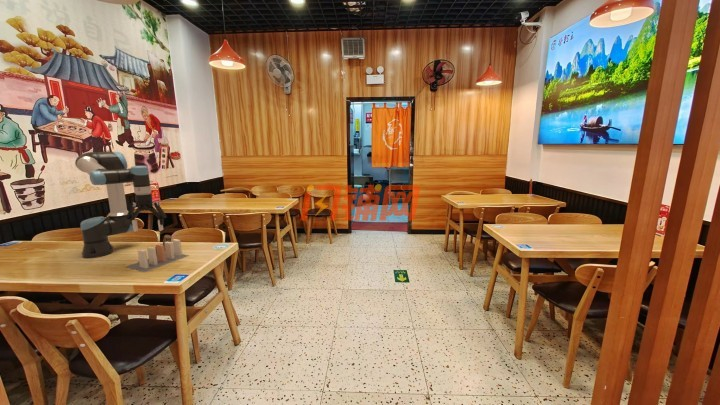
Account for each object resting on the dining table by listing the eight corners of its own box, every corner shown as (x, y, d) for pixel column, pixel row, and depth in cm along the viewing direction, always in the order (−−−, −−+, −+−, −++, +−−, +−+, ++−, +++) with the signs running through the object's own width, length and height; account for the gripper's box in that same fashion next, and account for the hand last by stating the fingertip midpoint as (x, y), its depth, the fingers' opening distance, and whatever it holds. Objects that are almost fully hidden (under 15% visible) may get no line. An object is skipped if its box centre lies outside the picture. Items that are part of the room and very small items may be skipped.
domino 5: (179, 256, 180) (177, 240, 178) (174, 255, 182) (172, 239, 180) (182, 255, 181) (180, 240, 179) (176, 254, 183) (174, 239, 181)
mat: (124, 268, 164) (124, 267, 164) (170, 252, 188) (170, 251, 188) (144, 273, 157) (144, 272, 157) (189, 256, 181) (189, 255, 181)
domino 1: (145, 268, 162) (143, 251, 160) (140, 267, 164) (137, 250, 162) (148, 267, 163) (146, 250, 161) (143, 266, 165) (140, 249, 163)
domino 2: (154, 265, 166) (152, 248, 164) (149, 263, 168) (146, 247, 166) (157, 264, 168) (155, 247, 166) (152, 262, 170) (149, 246, 168)
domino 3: (160, 259, 174) (158, 244, 172) (166, 261, 172) (164, 245, 170) (158, 260, 173) (155, 244, 171) (163, 262, 171) (161, 245, 169)
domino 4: (171, 259, 175) (169, 243, 173) (166, 257, 177) (164, 242, 175) (174, 258, 177) (172, 242, 175) (169, 257, 179) (166, 241, 177)
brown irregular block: (159, 260, 181) (162, 247, 178) (147, 254, 181) (150, 241, 178) (181, 249, 198) (184, 237, 195) (170, 244, 199) (173, 231, 196)
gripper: (114, 195, 155) (120, 233, 159) (163, 194, 157) (168, 232, 161) (124, 193, 163) (129, 229, 167) (170, 192, 165) (175, 228, 169)
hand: (148, 230), depth 164 cm, fingers open, 13 cm apart
